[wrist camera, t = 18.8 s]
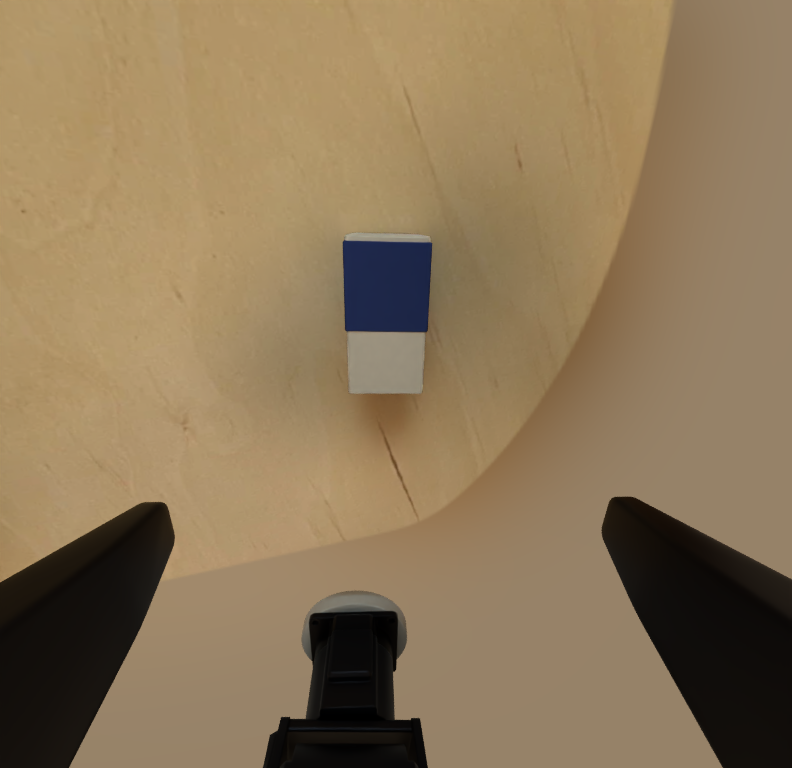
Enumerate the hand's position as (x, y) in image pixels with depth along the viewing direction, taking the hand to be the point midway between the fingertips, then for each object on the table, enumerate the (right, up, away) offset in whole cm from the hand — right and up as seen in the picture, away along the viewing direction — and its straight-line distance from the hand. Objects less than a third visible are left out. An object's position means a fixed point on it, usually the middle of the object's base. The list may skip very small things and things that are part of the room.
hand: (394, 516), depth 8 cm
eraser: (-1, +7, +10) cm, 12 cm away
